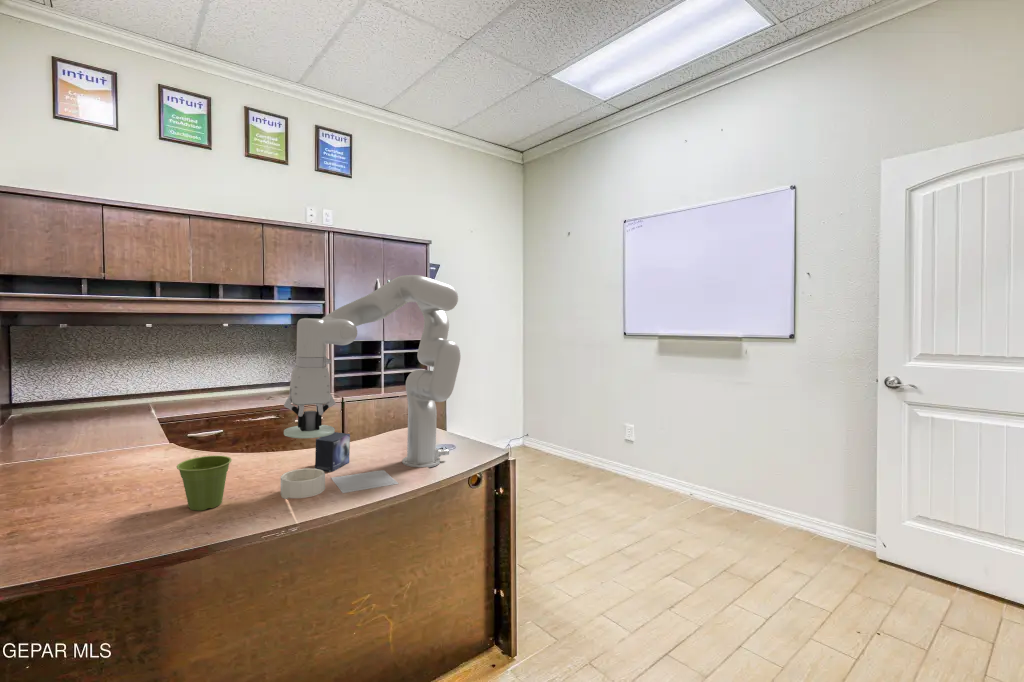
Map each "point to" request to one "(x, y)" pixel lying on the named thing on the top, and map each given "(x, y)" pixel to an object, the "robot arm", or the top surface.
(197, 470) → the plant pot
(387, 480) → the mat
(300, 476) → the bowl
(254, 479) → the top surface
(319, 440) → the small box
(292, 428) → the lid
